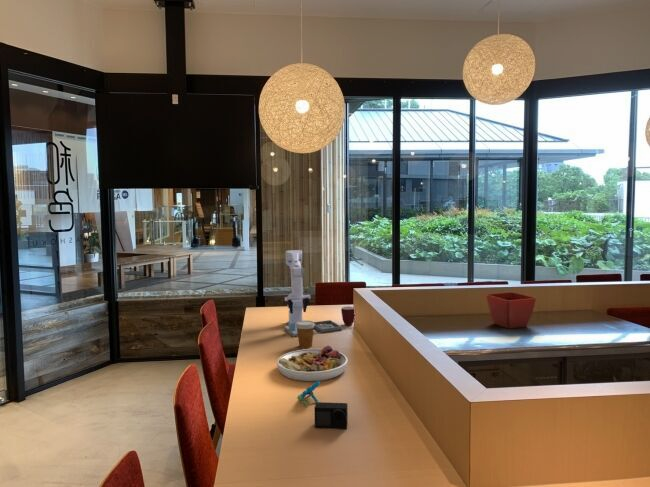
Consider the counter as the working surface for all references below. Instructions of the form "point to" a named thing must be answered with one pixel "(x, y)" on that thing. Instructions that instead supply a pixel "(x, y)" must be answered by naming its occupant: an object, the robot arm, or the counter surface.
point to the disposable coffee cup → (305, 333)
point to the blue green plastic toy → (308, 391)
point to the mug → (348, 315)
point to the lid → (293, 328)
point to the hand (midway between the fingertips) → (298, 312)
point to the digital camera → (331, 415)
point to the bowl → (312, 364)
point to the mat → (296, 335)
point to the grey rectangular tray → (327, 326)
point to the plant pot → (510, 309)
